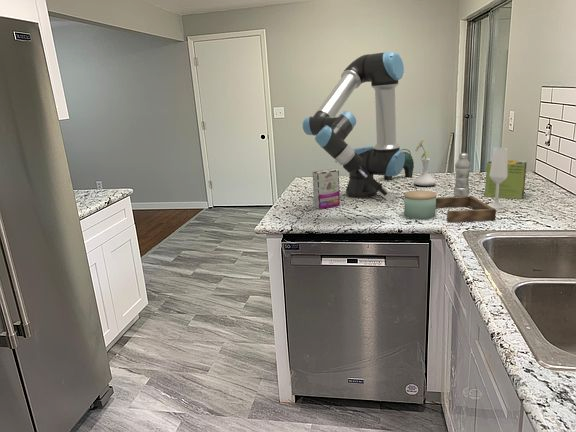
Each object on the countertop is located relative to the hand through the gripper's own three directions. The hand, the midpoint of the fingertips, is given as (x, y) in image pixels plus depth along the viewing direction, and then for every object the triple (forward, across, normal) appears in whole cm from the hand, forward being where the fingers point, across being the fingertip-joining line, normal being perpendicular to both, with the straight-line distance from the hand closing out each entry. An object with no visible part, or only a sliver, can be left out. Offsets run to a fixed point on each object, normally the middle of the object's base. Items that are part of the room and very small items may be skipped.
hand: (391, 199), depth 174 cm
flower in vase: (+25, -57, +15) cm, 64 cm away
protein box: (+45, -28, +35) cm, 64 cm away
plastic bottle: (+31, -28, +22) cm, 47 cm away
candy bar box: (-12, -21, -23) cm, 33 cm away
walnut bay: (+24, -1, +14) cm, 28 cm away
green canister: (+13, -1, +3) cm, 14 cm away
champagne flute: (+37, -9, +27) cm, 47 cm away
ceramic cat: (+19, -79, +9) cm, 82 cm away
